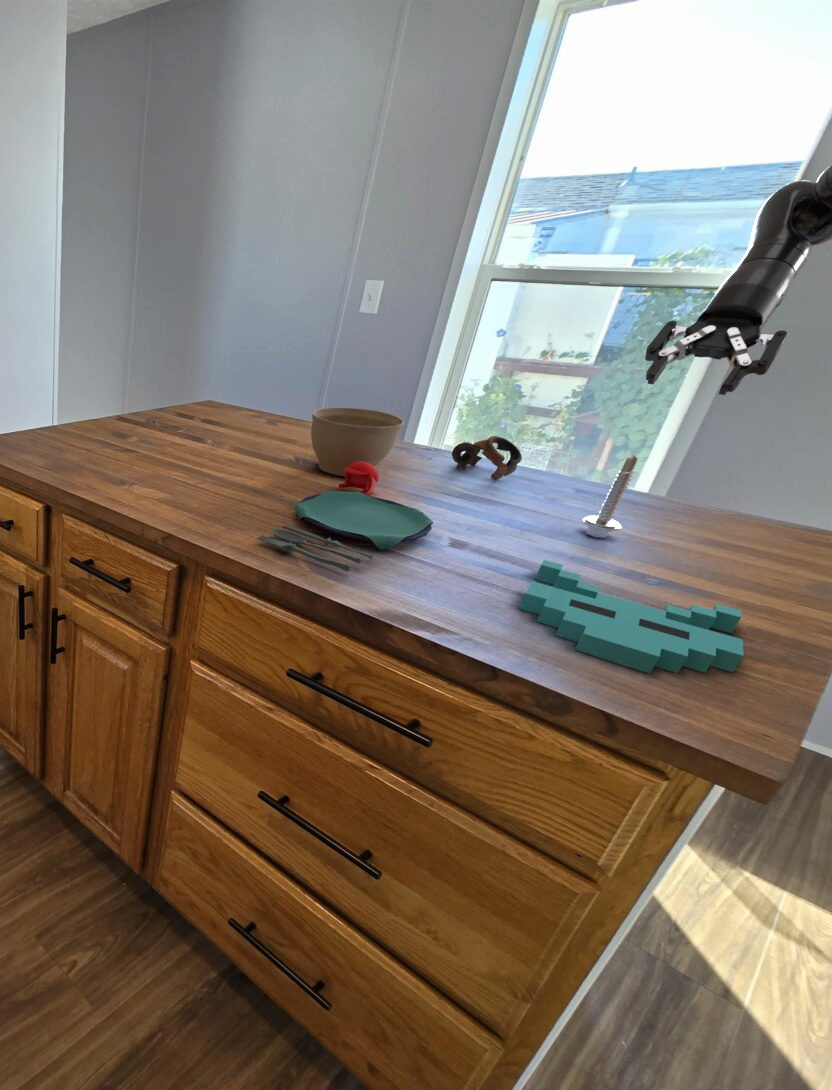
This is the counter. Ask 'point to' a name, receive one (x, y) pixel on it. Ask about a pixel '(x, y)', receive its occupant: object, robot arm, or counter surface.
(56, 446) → the counter surface
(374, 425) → the planter bowl
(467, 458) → the brown looped twisted part
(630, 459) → the screw
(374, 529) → the cutlery set
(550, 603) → the alien figure
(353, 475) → the cap
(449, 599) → the counter surface
